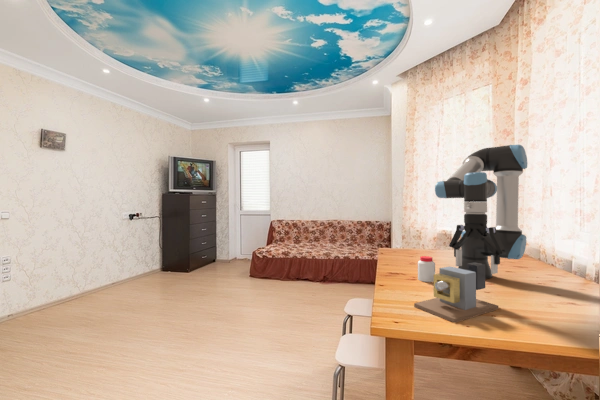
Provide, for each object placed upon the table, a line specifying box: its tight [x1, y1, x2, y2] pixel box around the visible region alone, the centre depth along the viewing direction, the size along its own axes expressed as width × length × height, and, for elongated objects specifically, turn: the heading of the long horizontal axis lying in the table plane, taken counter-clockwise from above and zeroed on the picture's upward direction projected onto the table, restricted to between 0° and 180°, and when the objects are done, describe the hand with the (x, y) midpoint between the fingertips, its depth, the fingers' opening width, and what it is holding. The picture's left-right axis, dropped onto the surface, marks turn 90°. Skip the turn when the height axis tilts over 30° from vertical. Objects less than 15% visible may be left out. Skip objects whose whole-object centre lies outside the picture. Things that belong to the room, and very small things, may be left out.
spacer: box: [433, 272, 460, 303], centre depth 104 cm, size 3×8×8 cm, turn 27°
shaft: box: [435, 262, 486, 291], centre depth 107 cm, size 24×4×9 cm, turn 117°
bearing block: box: [413, 266, 499, 324], centre depth 106 cm, size 24×16×14 cm, turn 117°
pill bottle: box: [417, 255, 436, 283], centre depth 142 cm, size 8×8×11 cm
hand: (475, 269), depth 111 cm, fingers open, 13 cm apart
